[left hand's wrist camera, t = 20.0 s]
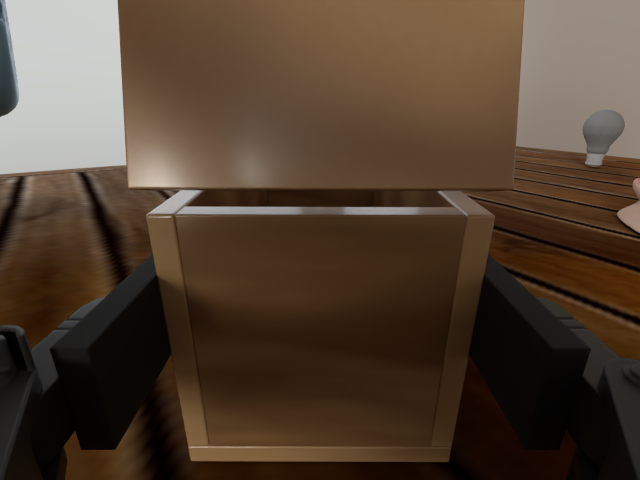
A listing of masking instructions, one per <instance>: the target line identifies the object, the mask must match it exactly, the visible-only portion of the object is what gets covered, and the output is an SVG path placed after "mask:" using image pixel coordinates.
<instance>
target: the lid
mask: <svg viewBox="0 0 640 480" xmlns="http://www.w3.org/2000/svg"><path fill="white" fill-rule="evenodd" d="M524 1H525V0H118V14H119V32H120V51H121V70H122V88H123V106H124V125H125V144H126V162H127V181H128V188H129V189H136V190H211V191H506V190H512V189H513V184H514V167H515V151H516V134H517V117H518V101H519V84H520V67H521V51H522V34H523V17H524Z"/></svg>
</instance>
